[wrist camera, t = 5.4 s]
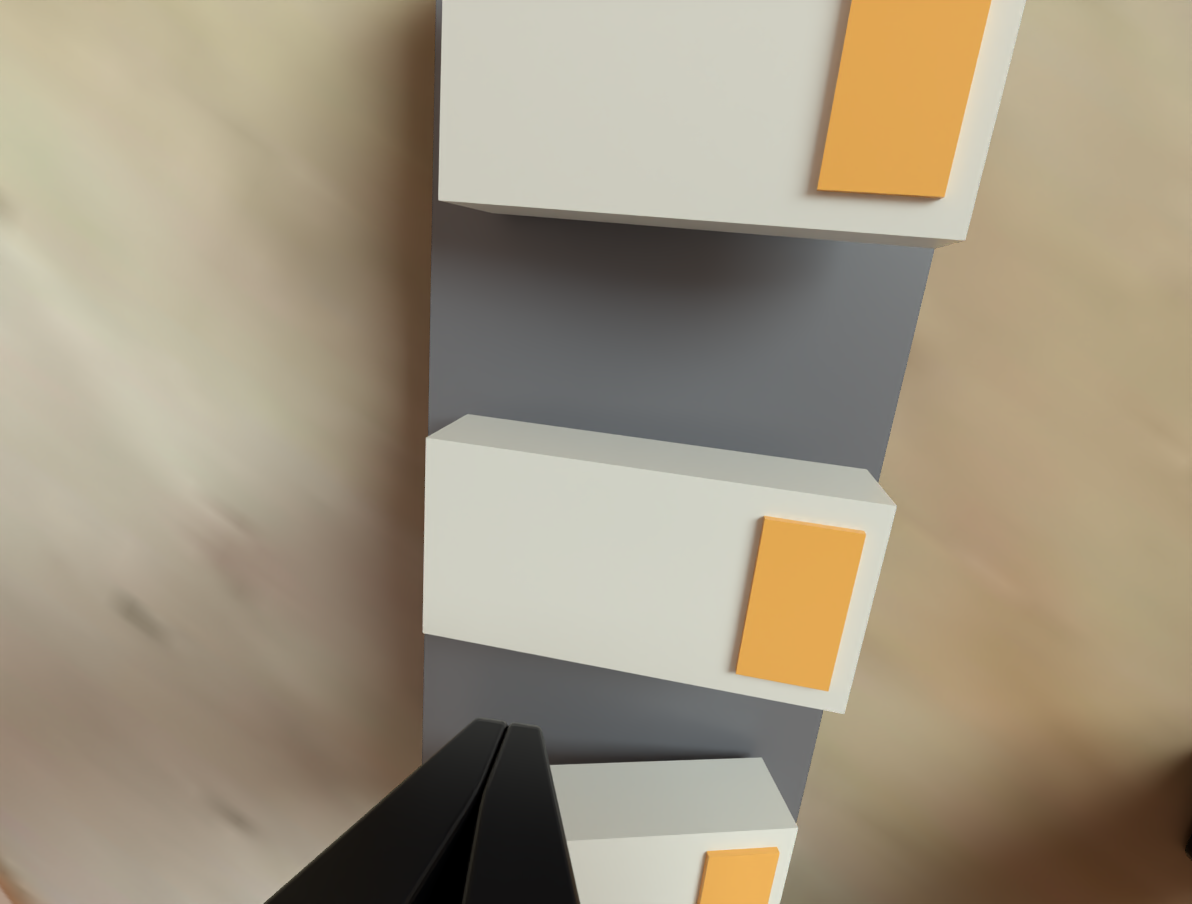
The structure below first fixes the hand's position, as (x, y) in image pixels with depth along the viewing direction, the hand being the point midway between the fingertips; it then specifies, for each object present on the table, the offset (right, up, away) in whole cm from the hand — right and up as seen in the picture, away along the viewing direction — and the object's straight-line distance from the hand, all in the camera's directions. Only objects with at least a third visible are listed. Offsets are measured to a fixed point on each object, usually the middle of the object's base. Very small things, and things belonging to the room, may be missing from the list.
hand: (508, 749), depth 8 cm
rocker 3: (+1, -6, +6) cm, 9 cm away
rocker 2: (+2, +2, +4) cm, 5 cm away
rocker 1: (+3, +9, +2) cm, 10 cm away
